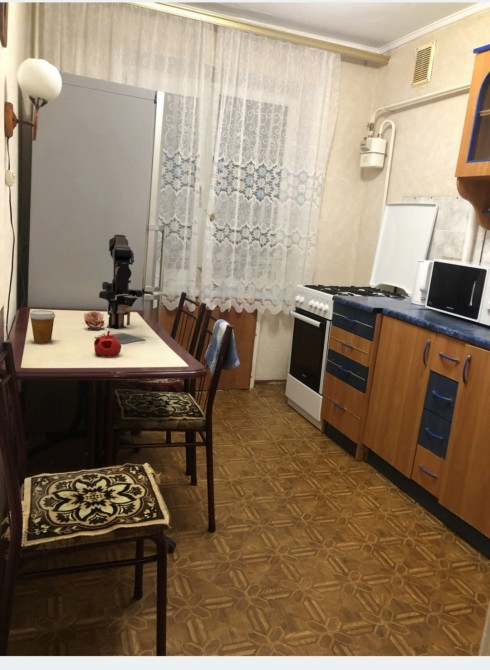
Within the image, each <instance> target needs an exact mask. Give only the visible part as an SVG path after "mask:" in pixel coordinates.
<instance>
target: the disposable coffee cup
mask: <svg viewBox="0 0 490 670" xmlns="http://www.w3.org/2000/svg"><path fill="white" fill-rule="evenodd" d="M29 318H30V323H31V328H32V329H31V330H32V335H33V336H32V337H33V342H34V343H35V344H39V345H45V344H50V343H51V342H52V338H53V330H54V322H55V318H56V314H55V311H53V310H47V309H46V310H45V309H43V310H42V309H39V310H37V309H36V310H32V311H30V313H29Z"/></svg>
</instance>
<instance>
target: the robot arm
mask: <svg viewBox="0 0 490 670" xmlns="http://www.w3.org/2000/svg"><path fill="white" fill-rule="evenodd" d="M108 252H109V255H110V257H111V259H112V262H113V263H112V264H113V267H112V268H113V270H112V273H113V275H112V276H113V277H112V280H111V281H112V282H110V283H109V282H108V281H103V282H102V284H101V285H102V286H101V287H102V290H101V291H99V293H98V299H99V298H100V299H103V300H106V301H107V312H106V313H107V315H109V316H108V323H107V324H108V325H106V327H108V328H111V329H115V330H116V329H124V328H127V325H125V316H127V312H123V324H122V325H121V327H119V312H117V308H118V305H126V306H130V307H133V306H134V304H135V302H136V301H137V300H138V298H143V295H144V293H143V291H142V290H141V289H138V288H129V286H130V284H131V283H132V280H131V279H130V278H131V276H132V270H131V267H130V266H131V265H133V264H134V263H135V257H134V255H135V254H134V251H133V250H132V249H131V246H129V240H128V239H127V238H126V235H124V234H113V237H112V238H110V239H109V240H108ZM111 308H112V311H113V314H114V315H115V325H112V311H111Z"/></svg>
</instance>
